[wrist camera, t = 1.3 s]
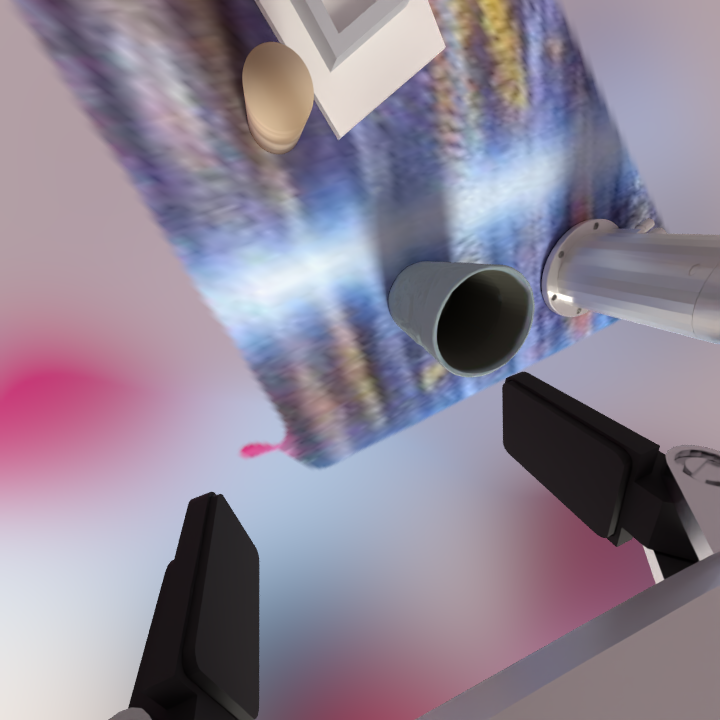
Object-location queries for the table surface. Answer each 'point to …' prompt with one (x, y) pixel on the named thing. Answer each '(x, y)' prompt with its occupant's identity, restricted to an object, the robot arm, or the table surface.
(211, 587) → the robot arm
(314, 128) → the table surface
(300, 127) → the barrel peg
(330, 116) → the white square-hole tray
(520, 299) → the grey cylindrical pot
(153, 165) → the table surface
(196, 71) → the table surface
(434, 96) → the table surface
